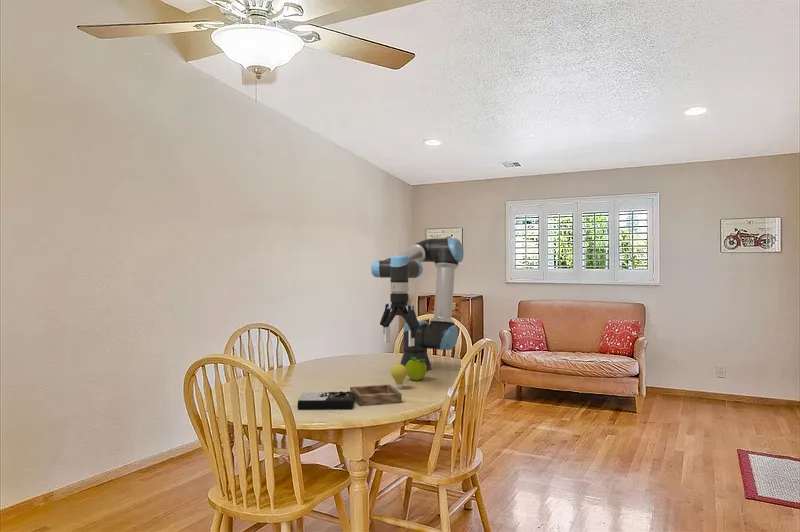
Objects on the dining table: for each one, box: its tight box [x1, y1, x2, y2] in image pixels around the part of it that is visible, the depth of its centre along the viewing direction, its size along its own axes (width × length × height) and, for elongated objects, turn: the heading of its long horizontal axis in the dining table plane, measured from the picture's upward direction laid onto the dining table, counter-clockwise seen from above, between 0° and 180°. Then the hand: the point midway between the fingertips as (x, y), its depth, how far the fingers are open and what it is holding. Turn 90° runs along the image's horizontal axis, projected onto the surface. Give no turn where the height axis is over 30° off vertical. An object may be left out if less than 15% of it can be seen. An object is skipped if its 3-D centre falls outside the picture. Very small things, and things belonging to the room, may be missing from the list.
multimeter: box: [297, 390, 355, 411], centre depth 196 cm, size 13×19×5 cm
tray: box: [349, 383, 403, 407], centre depth 205 cm, size 16×16×3 cm
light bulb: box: [391, 363, 408, 390], centre depth 222 cm, size 7×7×10 cm
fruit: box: [405, 357, 428, 381], centre depth 239 cm, size 9×9×10 cm
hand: (399, 344), depth 222 cm, fingers open, 13 cm apart
